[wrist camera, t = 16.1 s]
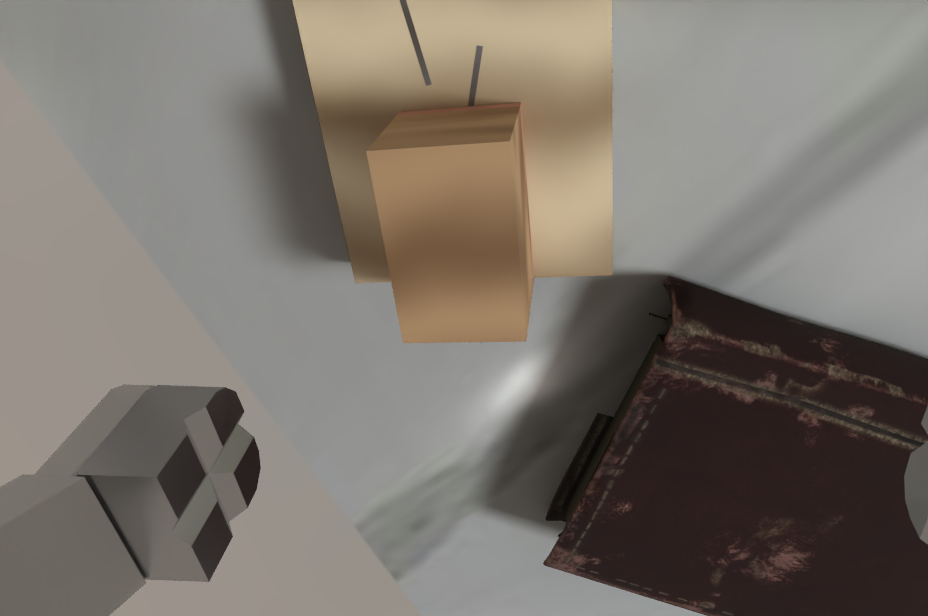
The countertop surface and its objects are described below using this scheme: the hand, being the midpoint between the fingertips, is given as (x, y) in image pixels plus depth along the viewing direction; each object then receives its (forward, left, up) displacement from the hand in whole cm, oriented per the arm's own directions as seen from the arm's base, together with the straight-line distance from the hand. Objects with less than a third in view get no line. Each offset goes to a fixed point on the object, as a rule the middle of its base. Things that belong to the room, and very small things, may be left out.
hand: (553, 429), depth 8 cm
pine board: (+1, -5, -23) cm, 23 cm away
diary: (+23, +12, -23) cm, 35 cm away
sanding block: (+5, -5, -21) cm, 22 cm away
